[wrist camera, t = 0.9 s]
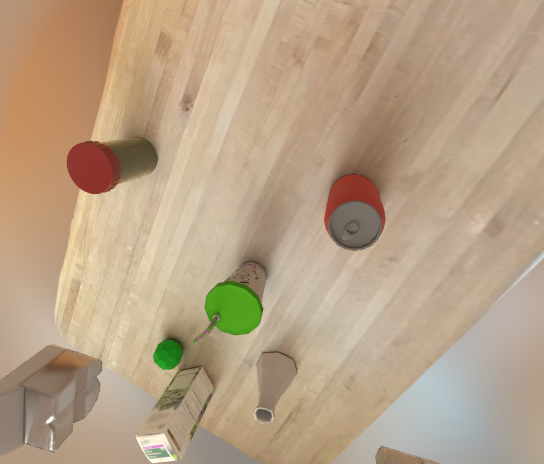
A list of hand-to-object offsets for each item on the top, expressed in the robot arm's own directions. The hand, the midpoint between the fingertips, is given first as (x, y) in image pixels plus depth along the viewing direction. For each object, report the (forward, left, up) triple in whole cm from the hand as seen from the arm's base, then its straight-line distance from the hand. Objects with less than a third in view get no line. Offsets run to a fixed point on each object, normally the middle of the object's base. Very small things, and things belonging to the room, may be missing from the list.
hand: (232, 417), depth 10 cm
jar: (+14, -23, -40) cm, 48 cm away
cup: (+20, +1, -40) cm, 45 cm away
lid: (+14, -23, -29) cm, 40 cm away
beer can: (+1, +6, -40) cm, 40 cm away
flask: (+33, +14, -40) cm, 54 cm away
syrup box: (+46, +4, -40) cm, 61 cm away
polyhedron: (+42, -3, -40) cm, 58 cm away
